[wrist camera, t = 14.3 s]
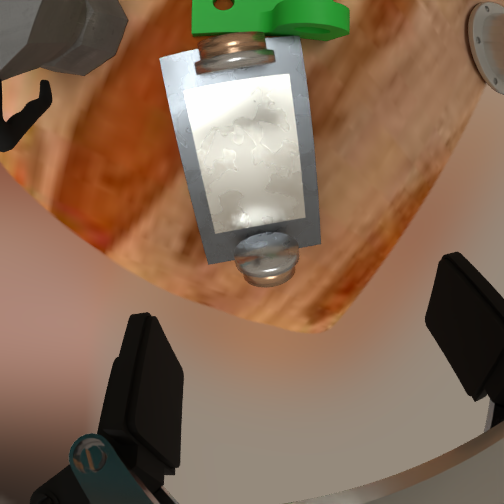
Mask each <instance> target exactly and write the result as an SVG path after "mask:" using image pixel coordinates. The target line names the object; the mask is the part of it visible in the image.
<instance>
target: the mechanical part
mask: <svg viewBox="0 0 504 504" xmlns="http://www.w3.org/2000/svg"><path fill="white" fill-rule="evenodd" d="M215 1H216V0H192V35H193V37H195V36H215V35H225V34H231V33H238V32H249V31H258V32H264V34H265V36H280V37H285V36H300V38H304V39H313V40H321V41H329V40H332V39H335V38H338V37H342V36H345V35H348V34H349V26H350V11H349V8H348V7H346V6H344V5H342V4H339V3H336V2H333V0H231V1H232V2H233V4H234V5H233V7H232V8H230V9H228V10H218V9H216V8H215V7H214V3H215Z"/></svg>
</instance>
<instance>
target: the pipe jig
mask: <svg viewBox="0 0 504 504" xmlns="http://www.w3.org/2000/svg"><path fill="white" fill-rule="evenodd" d="M197 45H198V49H195V50H190V51H186V52H181V53H177V54H173V55H169V56H165V57H161V58H159V59H160V64H161V69H162V74H163V79H164V84H165V88H166V93H167V98H168V103H169V107H170V112H171V117H172V121H173V126H174V130H175V134H176V139H177V143H178V147H179V152H180V156H181V160H182V164H183V168H184V173H185V177H186V181H187V185H188V189H189V193H190V197H191V201H192V205H193V209H194V212H195V216H196V220H197V224H198V228H199V232H200V235H201V239H202V243H203V246H204V250H205V254H206V257H207V261H208V265H209V264H215V263H220V262H226V261H231V260H235V264H236V267H237V269H238V270H239V271H240V272H242V273H243V275H244V278H245V280H246V281H247V282H248V283H249V284H251V285H254V286H257V287H274V286H278V285H281V284H283V283H285V282H287V281H288V280H289V279H291V277H292V276H293V275H294V273H295V265H296V264H297V262H298V260H299V248H302V247H307V246H313V245H318V244H321V235H320V216H319V200H318V186H317V173H316V162H315V151H314V140H313V131H312V121H311V113H310V104H309V96H308V88H307V81H306V74H305V67H304V60H303V53H302V47H301V41H300V36H285V37H273V38H265V34H264V32H258V31H249V32H238V33H231V34H225V35H220V36H216V37H212V38H208V39H205V40H203V41H200V42H199V43H198V44H197Z"/></svg>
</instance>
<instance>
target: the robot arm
mask: <svg viewBox="0 0 504 504" xmlns="http://www.w3.org/2000/svg"><path fill="white" fill-rule="evenodd" d="M468 35H469V43H470V48H471V52H472V55H473V58H474V61H475V63H476V66H477V68H478V70H479V72H480V74H481V75H482V77H483V79H484V80H485V81H486V83H487V84H488V85H489V86H490V87H491V88H492V89H493V90H495V91H496V92H498V93H501V94H503V95H504V7H503V6H501V5H499V4H497V3H494V2H483V3H480V4H478V5H476V6H475V8H474V9H473V10H472V12H471V15H470V18H469V23H468ZM425 323H426V326H427V328H428V329H429V331H430V332H431V334H432V336H433V337H434V338H435V340H436V342H437V343H438V345H439V347H440V348H441V350H442V352H443V353H444V355H445V356H446V358H447V360H448V361H449V363H450V365H451V366H452V368H453V370H454V372H455V373H456V375H457V377H458V378H459V380H460V382H461V384H462V386H463V387H464V389H465V391H466V393H467V394H468V395H469V396H472V398H473V400H474V401H475V402H476V401H478V400H480V399H482V398H483V397H485V396H486V395H487V394H488V396H489V397H490V402H489V409H488V414H487V420H486V425H485V429H484V433H483V434H481V435H479V436H478V437H476V438H474V439H472V440H470V441H469V442H467V443H465V444H463V445H461V446H459V447H457V448H455V449H453V450H452V451H449V452H447V453H445V454H443V455H441V456H439V457H437V458H435V459H432V460H430V461H428V462H426V463H423V464H421V465H419V466H416V467H414V468H412V469H409V470H406V471H404V472H401V473H398V474H396V475H393V476H390V477H388V478H385V479H382V480H379V481H376V482H373V483H369V484H367V485H363V486H360V487H357V488H353V489H349V490H345V491H342V492H338V493H334V494H330V495H325V496H321V497H317V498H312V499H307V500H302V501H296V502H291V503H285V504H504V299H503V297H502V296H501V295H500V294H499V293H498V292H497V291H496V290H495V289H494V287H493V286H492V285H491V284H490V283H489V282H488V281H487V280H486V279H485V278H484V277H483V276H482V275H481V273H480V272H478V270H477V269H476V268H475V267H474V266H473V265H472V264H471V263H470V262H469V261H468V260H467V259H466V258H465V257H464V256H463V255H462V254H461V253H459V252H454V253H450V254H446V255H444V256H443V257H442V259H441V260H440V261H439V264H438V268H437V273H436V277H435V281H434V286H433V290H432V294H431V297H430V301H429V305H428V309H427V312H426V316H425ZM183 381H184V374H183V370H182V367H181V365H180V363H179V361H178V360H177V358H176V356H175V354H174V352H173V350H172V348H171V346H170V344H169V342H168V340H167V338H166V336H165V334H164V332H163V330H162V327H161V325H160V323H159V321H158V319H157V318H156V317H155V316H151V315H150V313H148V312H146V313H139V314H132V315H131V316H130V318H129V321H128V324H127V328H126V331H125V335H124V339H123V342H122V346H121V350H120V354H119V357H117V358H116V359H115V360H114V363H113V366H112V370H111V374H110V378H109V382H108V386H107V390H106V394H105V399H104V403H103V408H102V412H101V417H100V422H99V427H98V432H97V434H93V433H91V434H85V435H83V436H81V437H79V438H78V439H77V440H76V441H75V442H74V443H73V445H72V446H71V448H70V453H69V463H70V464H69V465H68V466H67V467H66V468H64V469H63V470H62V471H60V472H59V473H58V474H57V475H55V476H54V477H53V478H51V479H50V480H48V481H47V482H46V483H44V484H43V485H42V486H41V487H39V488H38V489H37V490H36V491H35V492H34V493H33V494H32V496H31V499H30V504H179V503H178V502H177V501H176V500H175V499H174V497H173V496H172V495H171V494H170V493H169V492H168V491H167V490H166V489H165V487H164V486H163V485H164V475H175V468H178V467H179V466H180V450H181V421H182V420H181V419H182V399H183V383H184V382H183Z"/></svg>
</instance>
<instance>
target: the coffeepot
mask: <svg viewBox="0 0 504 504" xmlns="http://www.w3.org/2000/svg"><path fill="white" fill-rule="evenodd" d="M127 22H128V19H127V17H126V15H125V13H124V11H123V9H122V7H121V5H120V4H119V2H118V0H0V152H6V151H9V150H11V149H13V148H14V147H15V146H16V144H17V143H18V142H19V140H20V139H21V138H22V137H23V135H24V134H25V133H26V132H27V131H28V130H29V128H30V127H31V126H32V125H33V124H34V123H35V122H36V121H37V119H38V118H39V117H40V116H41V115H42V114H43V113H44V112H45V111H46V110H47V109H48V108H49V107H50V105H51V103H52V93H51V88H50V84H49V81H48V80H41V82H40V94H39V98H38V99H35V100H32V101H30V102H28V103H27V104H26V106H25V107H24V109H23V110H22V111H21V112H19V113H16V114H15V115H13V116H12V117H10V118H9V119H8V120H7V122H5V121H4V119H3V115H2V81H3V80H6V79H8V78H11V77H13V76H16V75H19V74H22V73H25V72H28V71H31V70H34V69H37V68H39V67H41V68H44V69H48V70H51V71H54V72H61V73H68V74H75V75H81V76H85V75H86V74H88V73H89V72H90V71H92V70H93V69H95V68H97V67H98V66H100V65H101V64H103V63H104V62H105V61H106V60H108V59H109V58H111V57H112V56H114V55H115V54H116V51H117V48H118V46H119V44H120V41H121V39H122V37H123V33H124V30H125V27H126V24H127Z"/></svg>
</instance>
